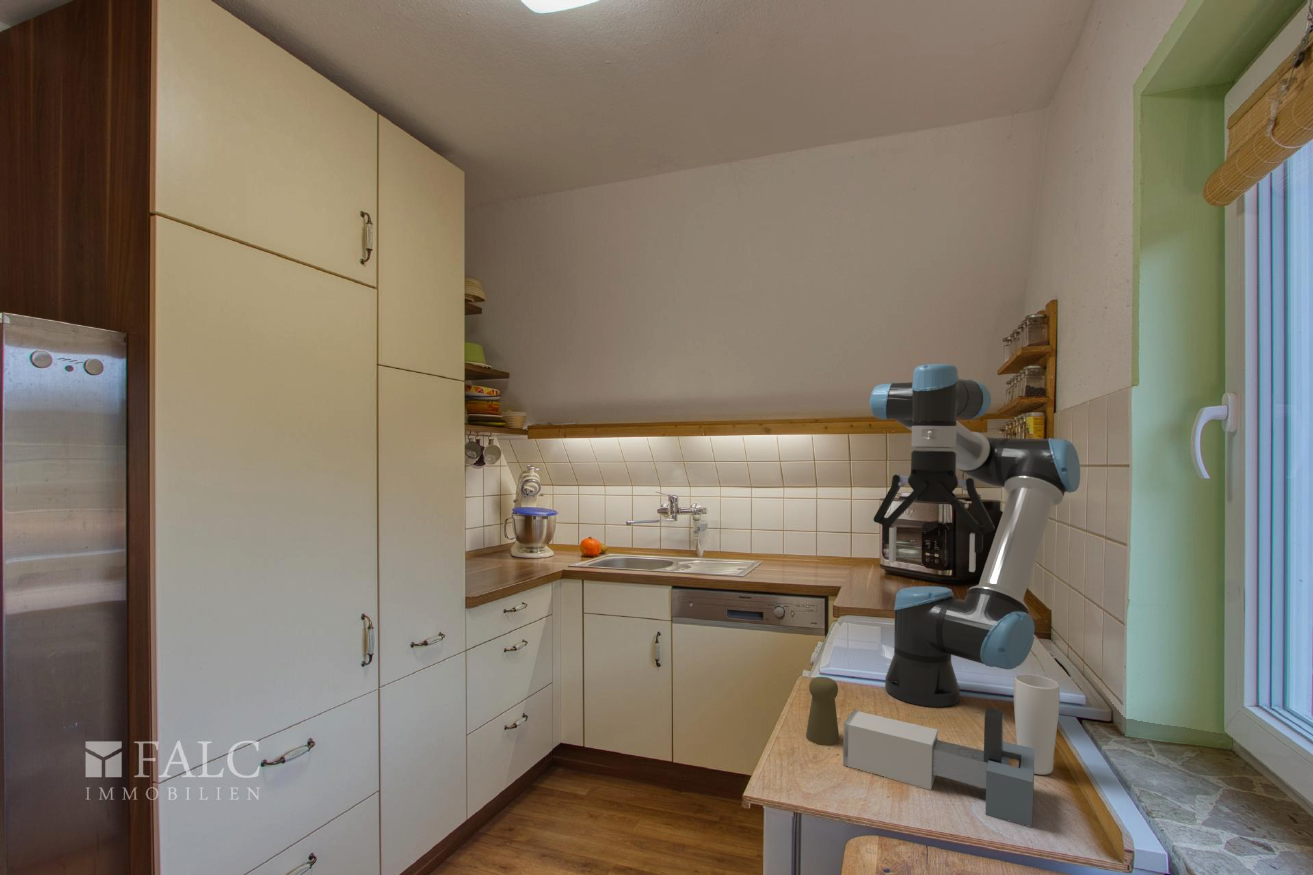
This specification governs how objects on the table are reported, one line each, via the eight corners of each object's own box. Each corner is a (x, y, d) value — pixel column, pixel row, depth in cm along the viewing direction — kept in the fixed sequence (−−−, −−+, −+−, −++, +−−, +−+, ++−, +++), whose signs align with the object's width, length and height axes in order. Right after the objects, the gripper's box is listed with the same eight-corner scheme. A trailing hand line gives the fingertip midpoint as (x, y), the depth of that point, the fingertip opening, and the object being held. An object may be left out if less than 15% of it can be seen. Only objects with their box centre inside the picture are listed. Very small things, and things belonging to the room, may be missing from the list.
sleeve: (852, 750, 117) (853, 710, 117) (936, 772, 110) (937, 729, 110) (842, 765, 111) (843, 723, 111) (930, 789, 104) (931, 744, 104)
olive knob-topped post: (840, 747, 118) (841, 686, 118) (806, 743, 119) (807, 683, 119) (838, 732, 124) (839, 674, 124) (805, 728, 125) (806, 671, 125)
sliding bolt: (898, 753, 112) (899, 689, 112) (1018, 784, 102) (1020, 714, 102) (893, 764, 108) (894, 697, 108) (1017, 797, 99) (1019, 724, 99)
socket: (991, 778, 108) (992, 738, 108) (1033, 789, 105) (1034, 748, 105) (985, 814, 98) (986, 770, 98) (1031, 827, 95) (1032, 781, 95)
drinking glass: (1062, 781, 107) (1064, 690, 107) (1015, 773, 110) (1017, 684, 110) (1053, 762, 114) (1054, 676, 114) (1009, 755, 116) (1011, 671, 116)
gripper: (858, 448, 123) (856, 561, 123) (1009, 452, 110) (1007, 578, 110) (868, 447, 129) (866, 555, 129) (1012, 451, 116) (1009, 570, 116)
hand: (931, 566), depth 119 cm, fingers open, 13 cm apart
